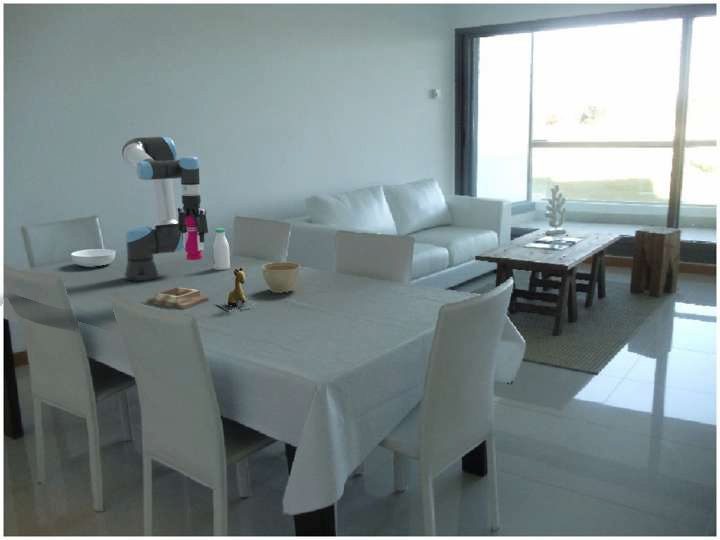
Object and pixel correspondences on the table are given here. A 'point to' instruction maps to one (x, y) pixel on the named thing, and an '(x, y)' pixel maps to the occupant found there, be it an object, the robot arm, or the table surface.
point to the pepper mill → (192, 240)
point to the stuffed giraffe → (236, 292)
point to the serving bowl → (93, 257)
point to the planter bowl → (281, 276)
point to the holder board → (178, 298)
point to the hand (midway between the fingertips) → (193, 249)
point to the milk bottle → (221, 251)
